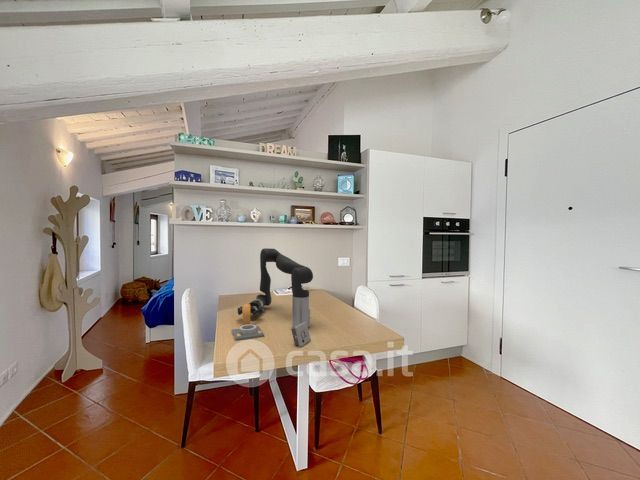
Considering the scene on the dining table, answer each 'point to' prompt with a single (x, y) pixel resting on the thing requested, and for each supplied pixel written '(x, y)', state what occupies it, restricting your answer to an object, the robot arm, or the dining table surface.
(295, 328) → the electrical switch
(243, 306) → the wire nut
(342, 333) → the dining table surface
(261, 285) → the robot arm
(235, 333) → the grey square mounting plate
